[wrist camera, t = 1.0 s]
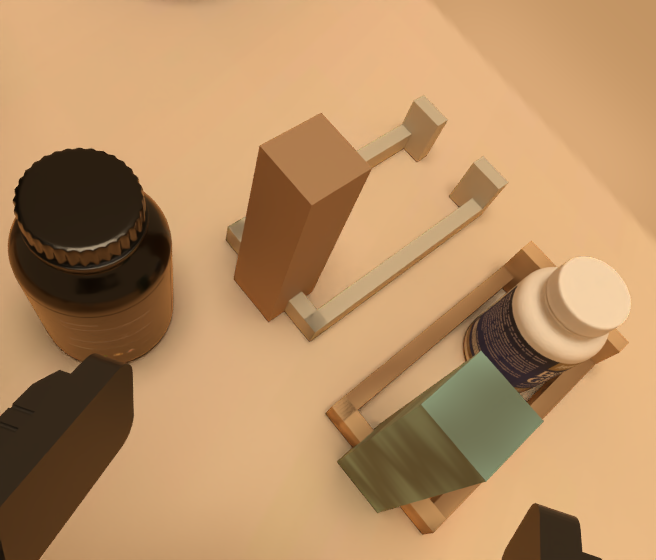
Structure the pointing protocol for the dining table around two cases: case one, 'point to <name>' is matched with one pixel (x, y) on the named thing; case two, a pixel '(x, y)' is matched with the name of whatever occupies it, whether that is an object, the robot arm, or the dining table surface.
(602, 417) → the dining table surface
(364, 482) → the tall sage green pillar
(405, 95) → the dining table surface
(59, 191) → the supplement bottle
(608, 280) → the pill bottle
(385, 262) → the lane broken
